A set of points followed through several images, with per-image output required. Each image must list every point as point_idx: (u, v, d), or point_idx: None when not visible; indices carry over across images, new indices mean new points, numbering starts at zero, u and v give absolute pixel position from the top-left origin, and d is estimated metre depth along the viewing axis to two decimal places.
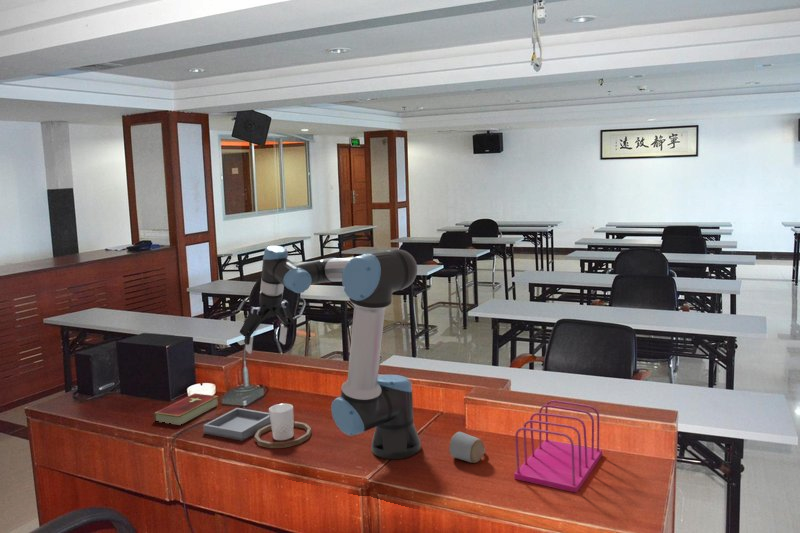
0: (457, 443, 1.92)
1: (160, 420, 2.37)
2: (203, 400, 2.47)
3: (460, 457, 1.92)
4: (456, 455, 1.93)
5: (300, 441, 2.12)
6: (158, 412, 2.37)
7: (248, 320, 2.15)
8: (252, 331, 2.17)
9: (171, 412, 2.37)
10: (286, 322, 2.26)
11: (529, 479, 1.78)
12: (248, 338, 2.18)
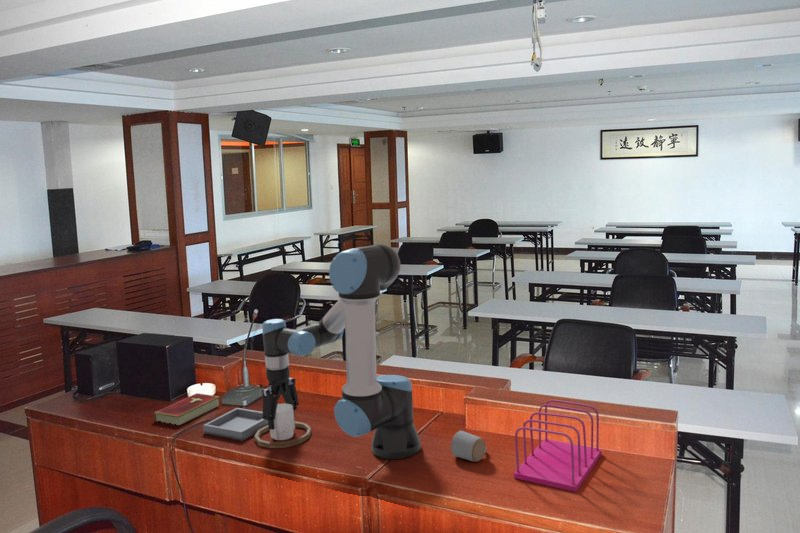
0: (459, 442, 1.93)
1: (160, 420, 2.37)
2: (204, 401, 2.47)
3: (462, 456, 1.93)
4: (458, 454, 1.93)
5: (300, 441, 2.12)
6: (158, 412, 2.38)
7: (265, 403, 2.11)
8: (274, 413, 2.13)
9: (171, 412, 2.37)
10: (292, 403, 2.20)
11: (529, 478, 1.79)
12: (272, 422, 2.13)
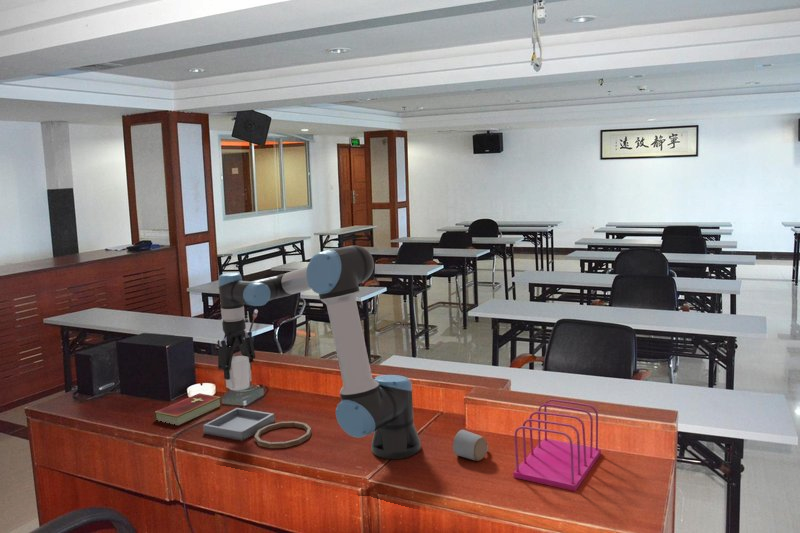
0: (460, 441, 1.93)
1: (160, 419, 2.38)
2: (205, 401, 2.46)
3: (463, 455, 1.93)
4: (459, 453, 1.94)
5: (300, 441, 2.12)
6: (158, 411, 2.38)
7: (221, 354, 2.17)
8: (229, 364, 2.19)
9: (171, 411, 2.37)
10: (249, 355, 2.27)
11: (528, 477, 1.79)
12: (228, 372, 2.19)
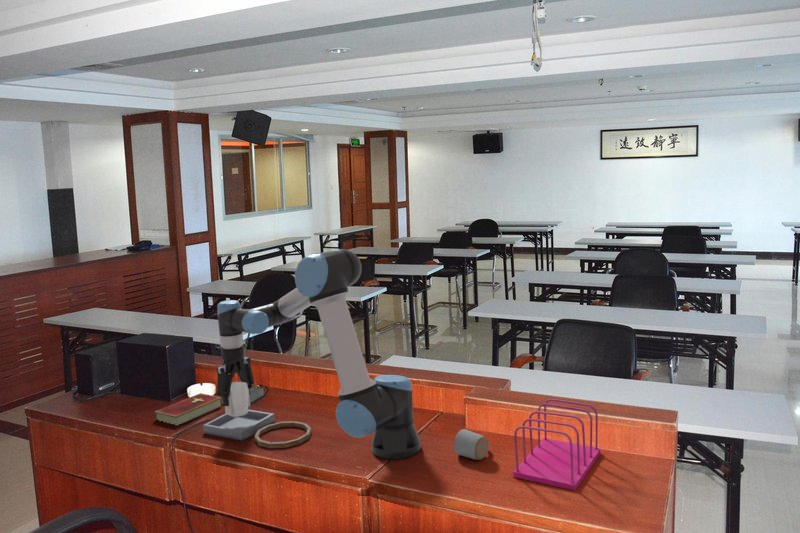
0: (462, 440, 1.94)
1: (160, 419, 2.38)
2: (205, 401, 2.46)
3: (465, 454, 1.94)
4: (461, 452, 1.94)
5: (300, 441, 2.12)
6: (158, 411, 2.38)
7: (220, 381, 2.19)
8: (228, 390, 2.21)
9: (170, 411, 2.37)
10: (247, 381, 2.29)
11: (528, 477, 1.80)
12: (227, 399, 2.22)
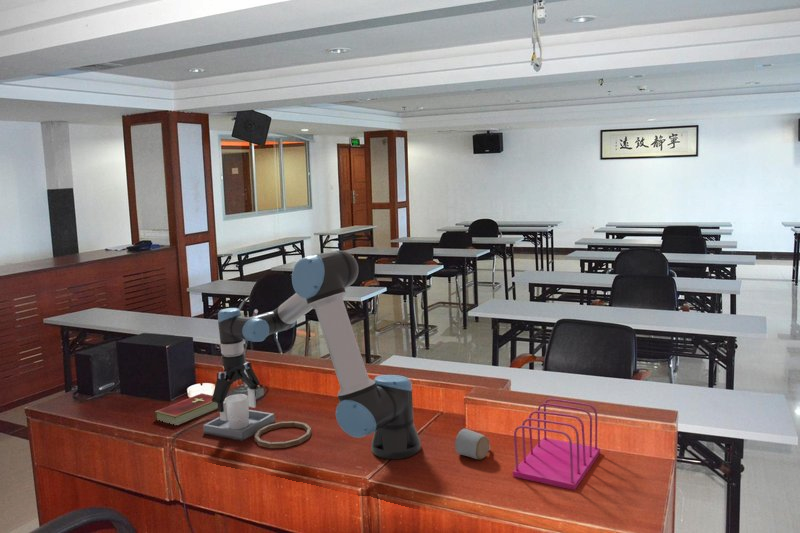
0: (463, 440, 1.94)
1: (160, 419, 2.38)
2: (206, 401, 2.46)
3: (466, 454, 1.94)
4: (462, 452, 1.95)
5: (300, 441, 2.12)
6: (159, 411, 2.39)
7: (217, 386, 2.19)
8: (224, 396, 2.20)
9: (170, 411, 2.37)
10: (252, 383, 2.31)
11: (528, 477, 1.80)
12: (221, 405, 2.20)
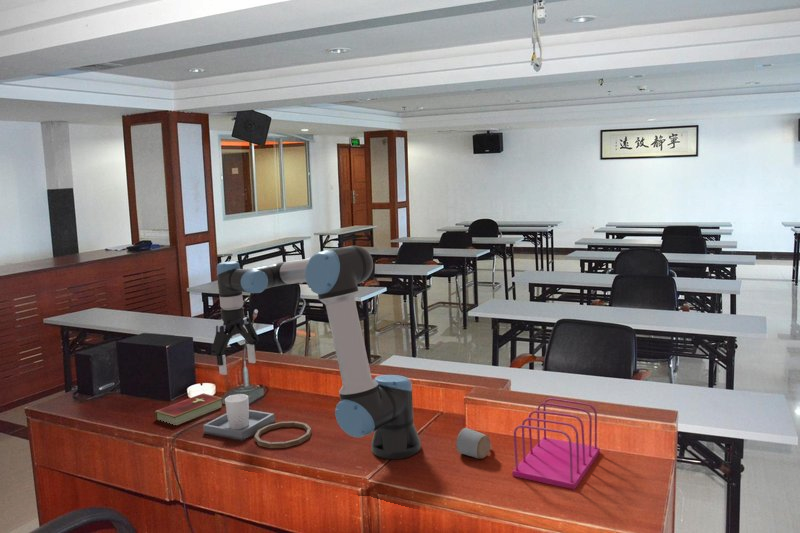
0: (464, 439, 1.95)
1: (160, 419, 2.38)
2: (206, 402, 2.45)
3: (467, 453, 1.94)
4: (463, 451, 1.95)
5: (300, 441, 2.12)
6: (159, 410, 2.39)
7: (217, 339, 2.17)
8: (223, 350, 2.18)
9: (170, 411, 2.37)
10: (252, 339, 2.29)
11: (527, 476, 1.80)
12: (221, 358, 2.17)
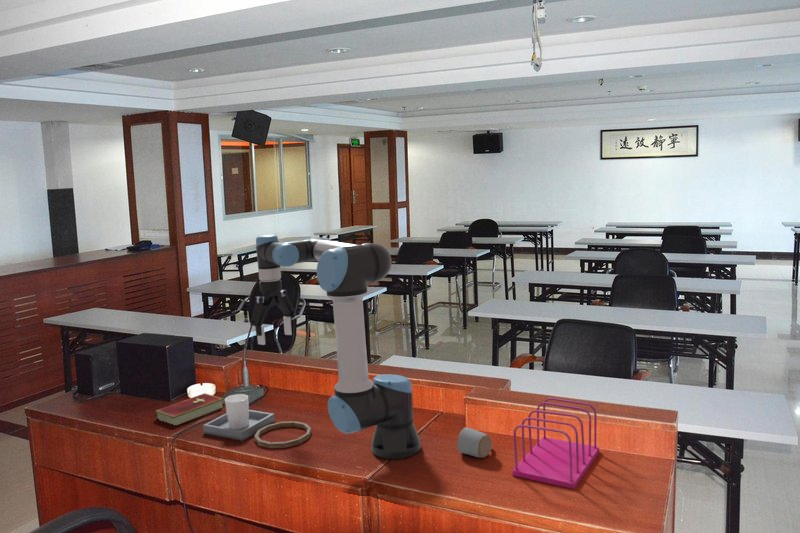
0: (465, 438, 1.95)
1: (160, 418, 2.39)
2: (206, 402, 2.45)
3: (468, 452, 1.95)
4: (464, 450, 1.95)
5: (300, 441, 2.12)
6: (159, 410, 2.39)
7: (256, 310, 2.22)
8: (262, 320, 2.23)
9: (170, 411, 2.37)
10: (288, 311, 2.35)
11: (527, 476, 1.80)
12: (259, 328, 2.23)
